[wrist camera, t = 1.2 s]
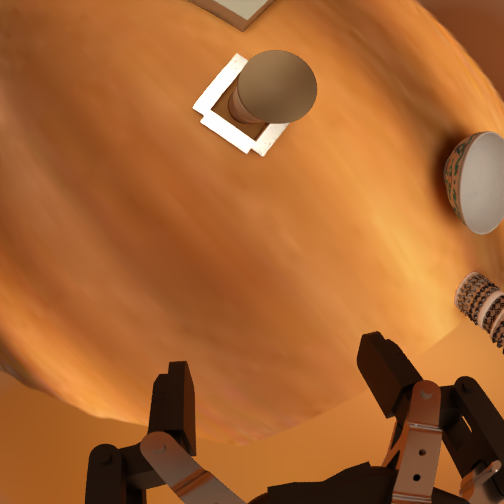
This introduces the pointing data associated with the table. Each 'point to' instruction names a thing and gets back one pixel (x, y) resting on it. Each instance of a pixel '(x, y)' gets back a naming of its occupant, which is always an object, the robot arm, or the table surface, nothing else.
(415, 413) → the robot arm
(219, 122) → the stop collar
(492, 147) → the chinaware
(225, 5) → the tray
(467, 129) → the table surface
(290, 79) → the stop peg
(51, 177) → the table surface
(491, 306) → the decorative candle
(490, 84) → the table surface
